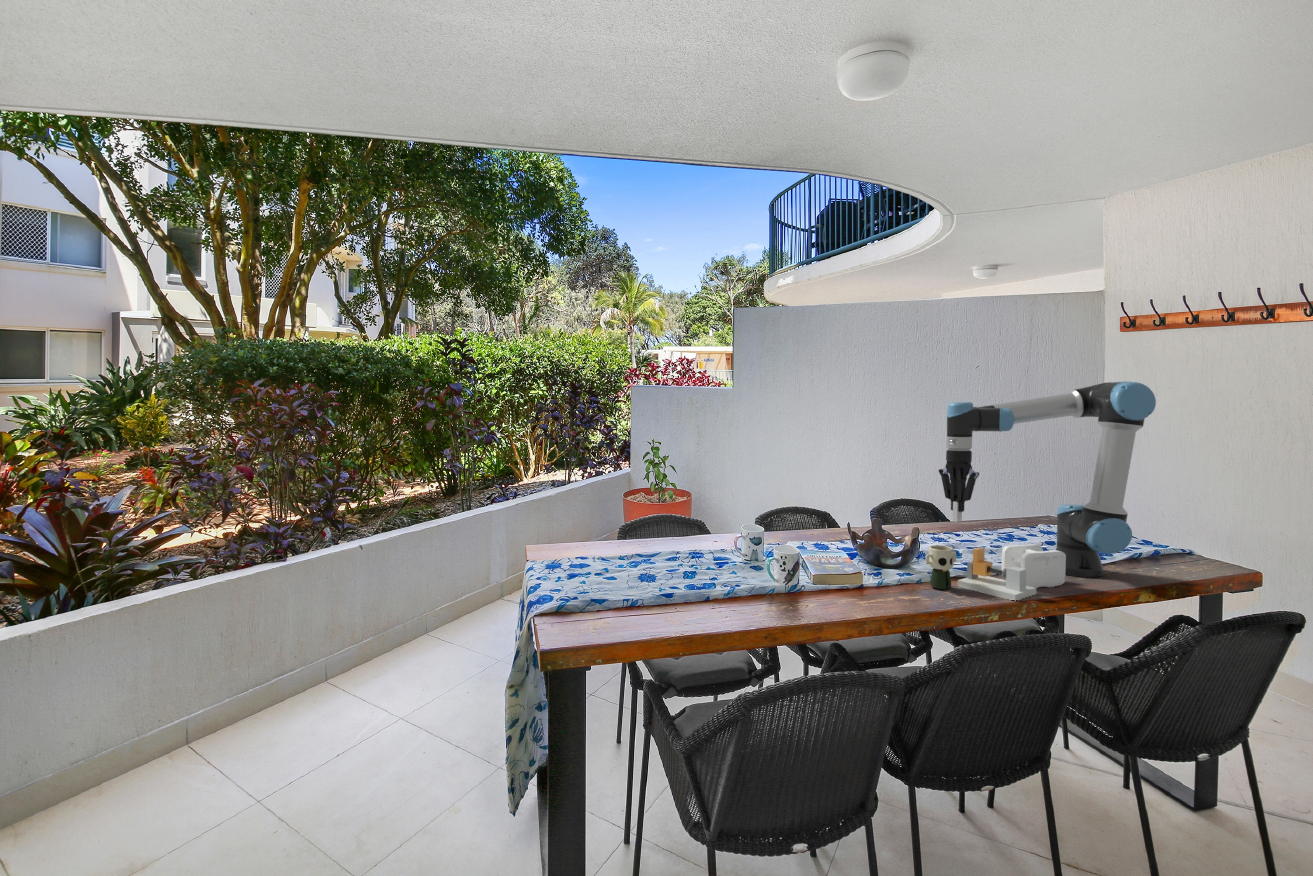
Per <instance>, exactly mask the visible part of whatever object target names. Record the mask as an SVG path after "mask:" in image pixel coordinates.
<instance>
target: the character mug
mask: <svg viewBox="0 0 1313 876" xmlns="http://www.w3.org/2000/svg"><path fill="white" fill-rule="evenodd" d="M956 562H957V552H956V551H954V548H953V547H952V546H947V545H941V544H935V545H930V546H929V548H928V553H927V554H926V555H925V564H926V565H927V566H928V565H929V567H931V568H932V570H931V575H930V581H929V586H931V587H933V588H935V589H940V590H946V589H947V587H948V589H949V590H950V589H951V588H952V581H951V579H952V578H951V572H950V570H951V569H953V567H954V565H955V563H956Z"/></svg>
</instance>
